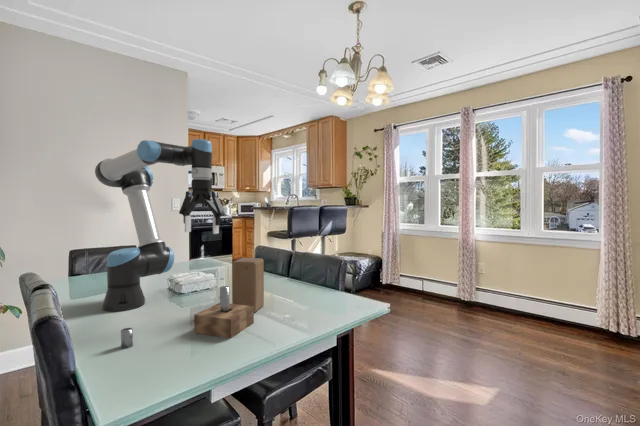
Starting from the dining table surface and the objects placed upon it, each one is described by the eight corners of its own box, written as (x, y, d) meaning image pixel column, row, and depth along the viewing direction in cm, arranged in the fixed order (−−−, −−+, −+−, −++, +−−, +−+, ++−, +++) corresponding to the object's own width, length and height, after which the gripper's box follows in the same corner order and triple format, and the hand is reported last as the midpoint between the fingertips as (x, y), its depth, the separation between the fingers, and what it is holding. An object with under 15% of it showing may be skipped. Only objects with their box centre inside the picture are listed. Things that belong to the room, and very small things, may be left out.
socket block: (194, 332, 108) (194, 314, 108) (220, 318, 122) (220, 302, 121) (231, 338, 104) (230, 319, 104) (253, 323, 117) (253, 306, 117)
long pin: (218, 328, 112) (218, 287, 111) (223, 325, 115) (223, 285, 114) (226, 329, 111) (225, 288, 110) (231, 326, 114) (230, 286, 113)
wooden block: (255, 313, 127) (255, 262, 126) (231, 312, 129) (230, 261, 128) (264, 305, 137) (264, 258, 136) (242, 304, 139) (242, 257, 138)
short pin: (118, 347, 97) (118, 331, 97) (127, 343, 100) (127, 327, 100) (126, 349, 96) (126, 332, 96) (135, 345, 99) (134, 328, 99)
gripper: (169, 178, 131) (169, 232, 132) (222, 178, 123) (222, 235, 123) (183, 180, 138) (183, 230, 139) (234, 179, 130) (233, 233, 130)
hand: (201, 232), depth 131 cm, fingers open, 13 cm apart
